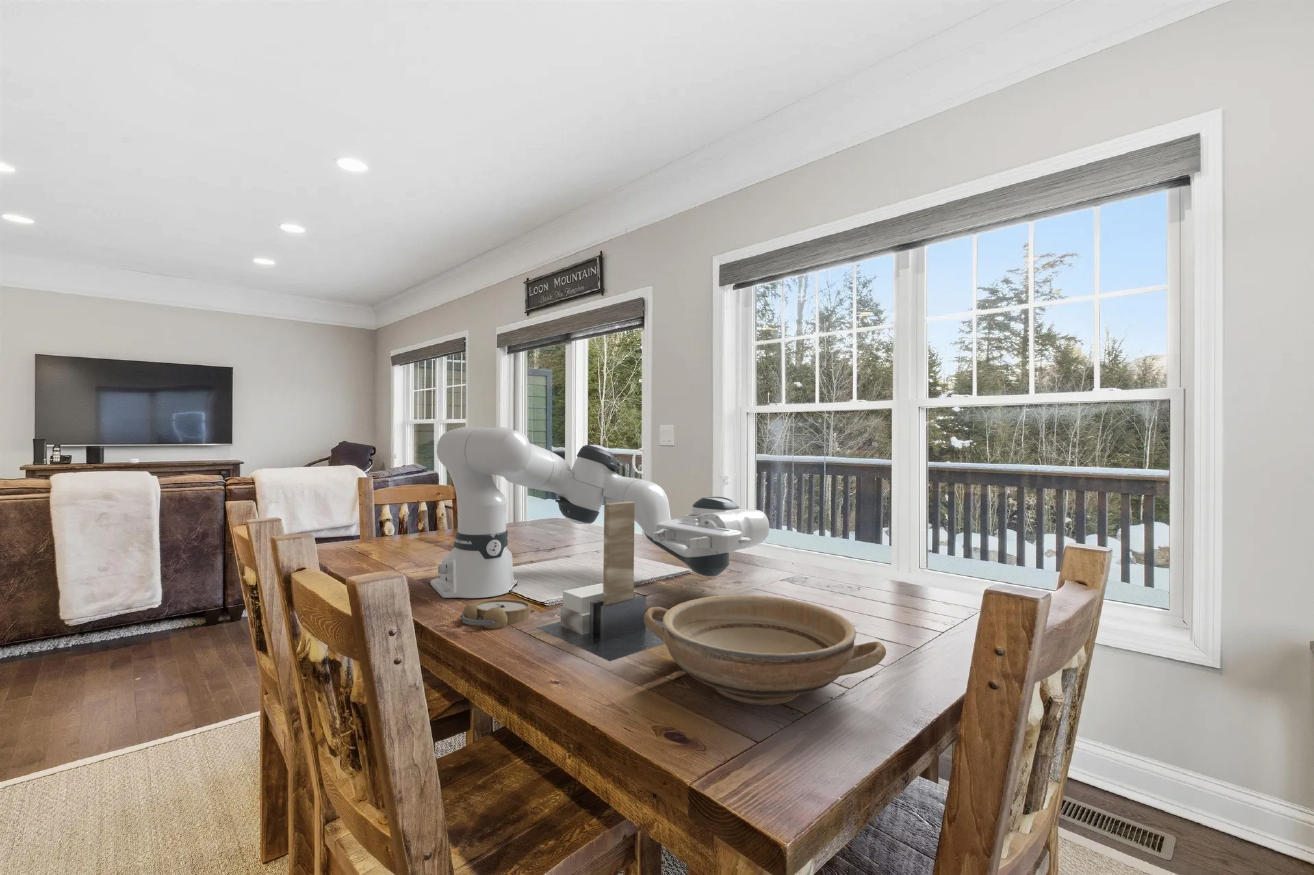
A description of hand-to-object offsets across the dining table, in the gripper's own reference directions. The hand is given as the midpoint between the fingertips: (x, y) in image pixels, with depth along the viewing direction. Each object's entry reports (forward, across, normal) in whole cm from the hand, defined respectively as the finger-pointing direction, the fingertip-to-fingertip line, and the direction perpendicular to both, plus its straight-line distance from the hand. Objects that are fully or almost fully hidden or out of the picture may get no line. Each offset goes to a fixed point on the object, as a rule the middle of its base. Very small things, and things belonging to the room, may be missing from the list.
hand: (671, 540), depth 119 cm
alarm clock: (+26, +22, -17) cm, 39 cm away
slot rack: (+13, 0, -17) cm, 21 cm away
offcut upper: (+14, +7, -12) cm, 20 cm away
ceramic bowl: (+11, -30, -17) cm, 36 cm away
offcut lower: (+13, +7, -16) cm, 22 cm away
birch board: (+13, 0, -16) cm, 21 cm away
